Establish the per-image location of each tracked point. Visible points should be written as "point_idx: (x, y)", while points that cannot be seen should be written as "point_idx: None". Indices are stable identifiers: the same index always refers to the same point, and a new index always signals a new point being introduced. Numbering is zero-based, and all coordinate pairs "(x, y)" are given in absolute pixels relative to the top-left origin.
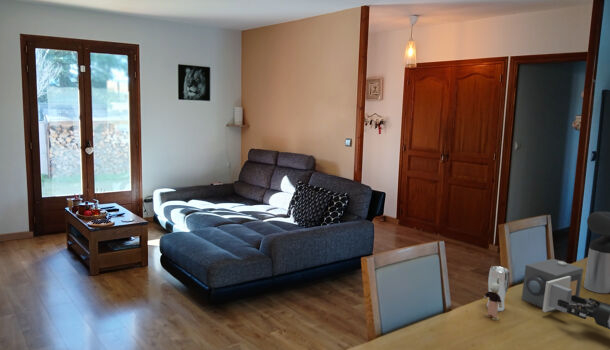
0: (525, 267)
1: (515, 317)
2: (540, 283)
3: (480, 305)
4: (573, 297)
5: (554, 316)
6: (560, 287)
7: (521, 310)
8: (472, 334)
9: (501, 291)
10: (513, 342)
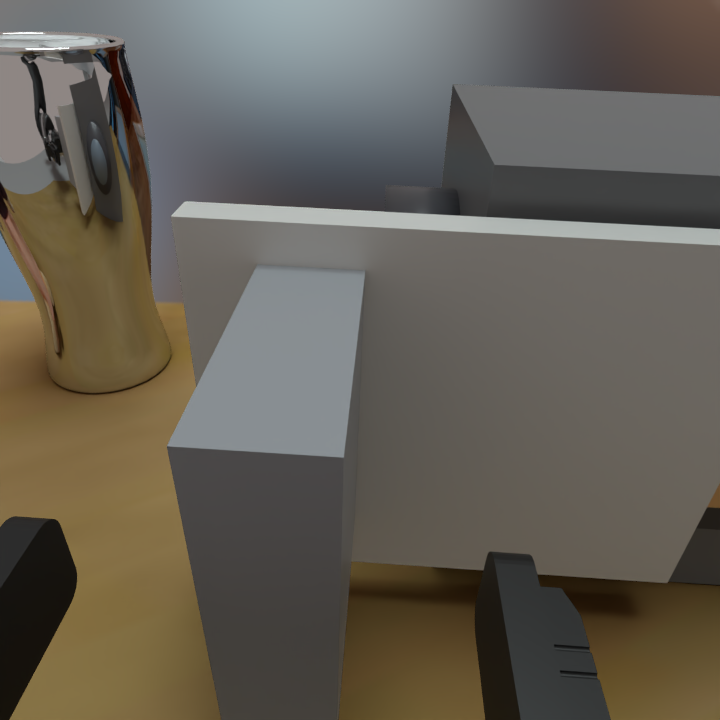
0: (450, 111)
1: (22, 473)
2: None
3: None
4: (487, 595)
5: (352, 633)
6: (254, 333)
7: None
8: None
9: (8, 239)
10: None
